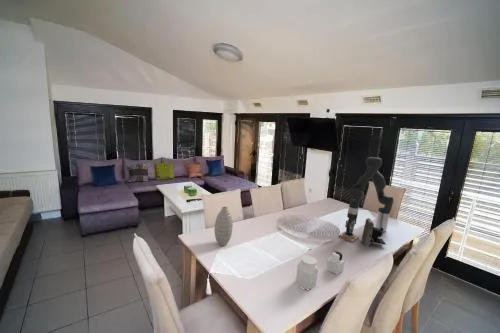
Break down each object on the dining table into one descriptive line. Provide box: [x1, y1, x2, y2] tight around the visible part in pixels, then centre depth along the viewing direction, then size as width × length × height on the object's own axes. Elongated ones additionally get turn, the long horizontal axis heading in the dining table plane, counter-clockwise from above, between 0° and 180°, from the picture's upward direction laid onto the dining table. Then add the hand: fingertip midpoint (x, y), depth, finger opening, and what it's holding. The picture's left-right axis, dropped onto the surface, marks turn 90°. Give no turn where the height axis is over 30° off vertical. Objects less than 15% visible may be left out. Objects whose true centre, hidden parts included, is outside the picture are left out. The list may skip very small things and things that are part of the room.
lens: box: [346, 224, 355, 236], centre depth 193 cm, size 5×5×10 cm
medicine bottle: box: [326, 250, 345, 275], centre depth 147 cm, size 7×7×12 cm
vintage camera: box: [361, 218, 387, 246], centre depth 185 cm, size 10×15×20 cm, turn 78°
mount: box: [338, 230, 360, 244], centre depth 194 cm, size 12×12×4 cm
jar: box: [295, 255, 319, 290], centre depth 133 cm, size 12×10×15 cm
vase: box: [214, 206, 234, 247], centre depth 167 cm, size 13×13×28 cm
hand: (349, 230), depth 193 cm, fingers open, 8 cm apart
